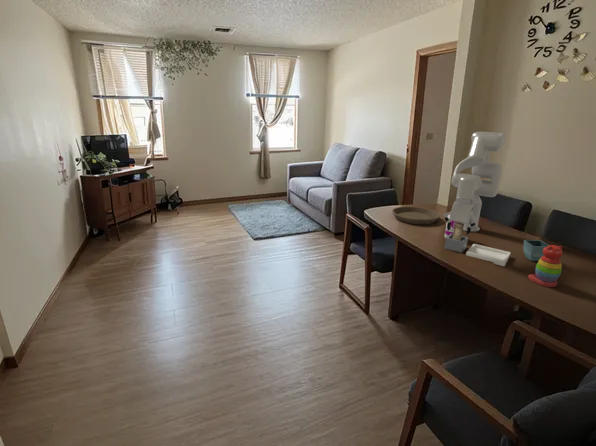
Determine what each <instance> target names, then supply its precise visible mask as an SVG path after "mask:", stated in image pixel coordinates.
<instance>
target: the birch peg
mask: <svg viewBox="0 0 596 446" xmlns="http://www.w3.org/2000/svg"><path fill="white" fill-rule="evenodd" d="M463 228H464V223H460V222H456V223H455V227H454V233H453V238H452V239H455V240H460V241H461V239H462V236H463V233H464V230H463Z"/></svg>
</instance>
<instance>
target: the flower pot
mask: <svg viewBox="0 0 596 446" xmlns="http://www.w3.org/2000/svg"><path fill="white" fill-rule="evenodd" d="M549 245H550V244H548V243H546V242H544V241H542V240H539V239H524V240H523V250H522V251H523V253H524V256H525V258H527V259H528V260H530V261H532V262H533V261H534V262H538V261H539V260H540V258H541V257H542V256H544V254H543V249H544V248H545V247H547V246H549Z"/></svg>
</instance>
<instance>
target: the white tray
mask: <svg viewBox="0 0 596 446" xmlns="http://www.w3.org/2000/svg"><path fill="white" fill-rule="evenodd" d="M465 256H467V257H472V258H474V259H479V260H483V261H487V262H492V264H493V265H497V266H501V267H505V266H506V265H507V262H508V260H509V259H510V256H511V251H506V250H503V249H500V248H499V249H498V248H494V247H489V246H486V245H481V244H477V243H473V244H472V245H471V246H470V247H469V249H467V251H466V253H465Z"/></svg>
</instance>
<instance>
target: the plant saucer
mask: <svg viewBox="0 0 596 446" xmlns="http://www.w3.org/2000/svg"><path fill="white" fill-rule="evenodd" d="M391 212H392V215H393V216H394V217H395V219H396V220H398V221H400V222H402V223H406V224H412V225H429V224H431V225H432V224H433V223H435V222H436V221H438V220H439V219H440V216H441V215H440V213H438V212H437V211H435V210H433V209H430V208H425V207H419V206H398V207H394V208H393V209H391Z"/></svg>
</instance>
